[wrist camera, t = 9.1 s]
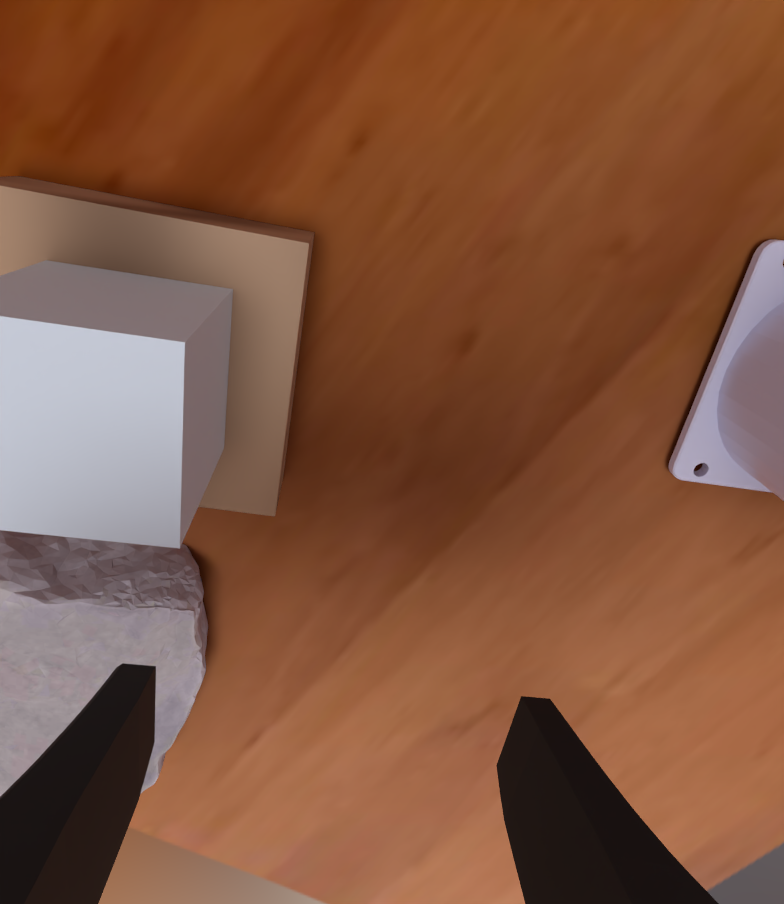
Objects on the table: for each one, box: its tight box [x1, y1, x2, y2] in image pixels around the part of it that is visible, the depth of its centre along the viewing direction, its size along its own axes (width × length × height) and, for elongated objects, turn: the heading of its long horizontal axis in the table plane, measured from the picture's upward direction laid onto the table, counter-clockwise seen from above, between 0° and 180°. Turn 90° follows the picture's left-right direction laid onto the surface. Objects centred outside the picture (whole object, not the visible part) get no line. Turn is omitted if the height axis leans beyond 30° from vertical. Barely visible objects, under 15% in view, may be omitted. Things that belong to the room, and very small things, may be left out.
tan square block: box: [0, 176, 315, 516], centre depth 18 cm, size 8×8×3 cm
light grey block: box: [0, 260, 233, 548], centre depth 14 cm, size 4×4×5 cm
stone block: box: [0, 530, 208, 796], centre depth 22 cm, size 12×5×10 cm
